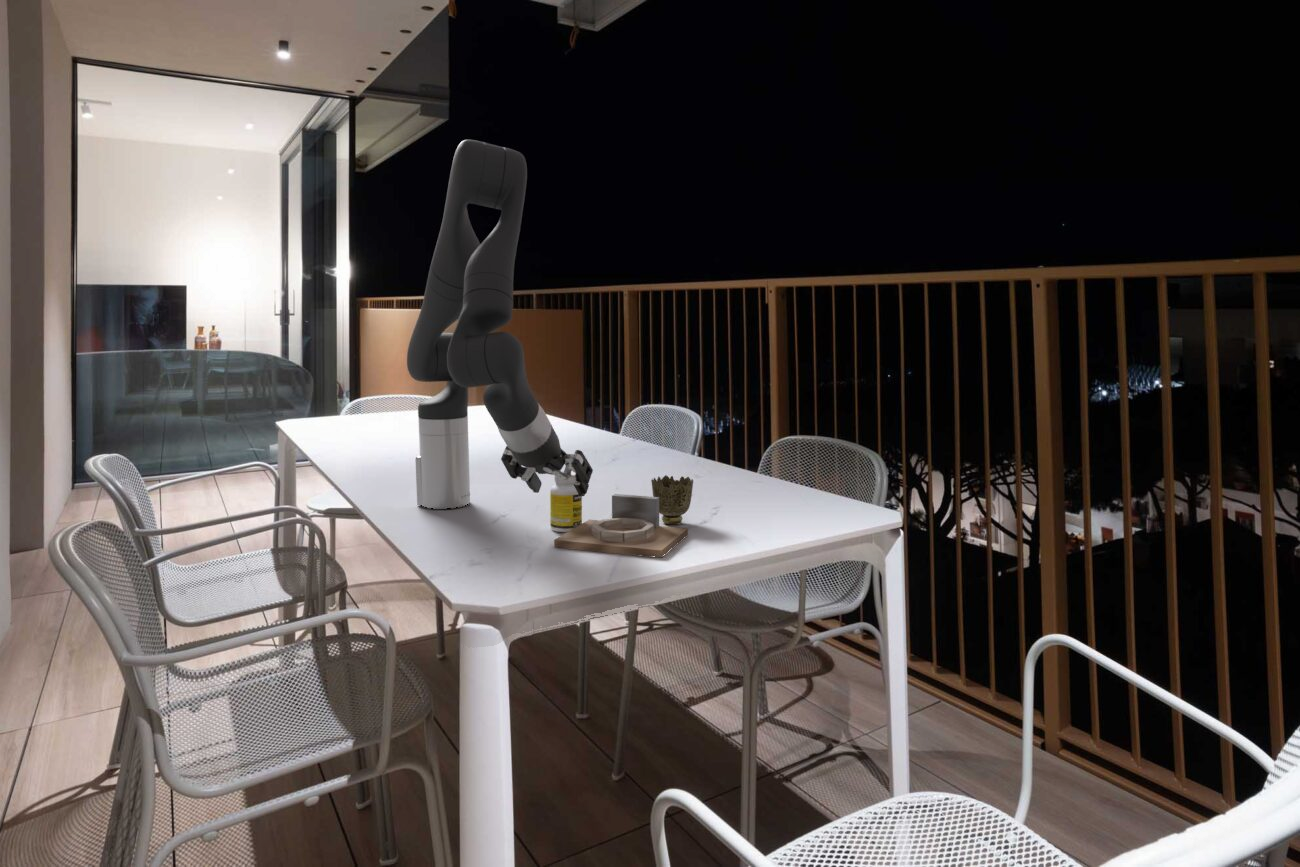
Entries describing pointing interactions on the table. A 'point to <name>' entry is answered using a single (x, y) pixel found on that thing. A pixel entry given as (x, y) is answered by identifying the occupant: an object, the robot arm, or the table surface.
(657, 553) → the socket board
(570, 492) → the supplement bottle
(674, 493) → the cup
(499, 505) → the table surface
